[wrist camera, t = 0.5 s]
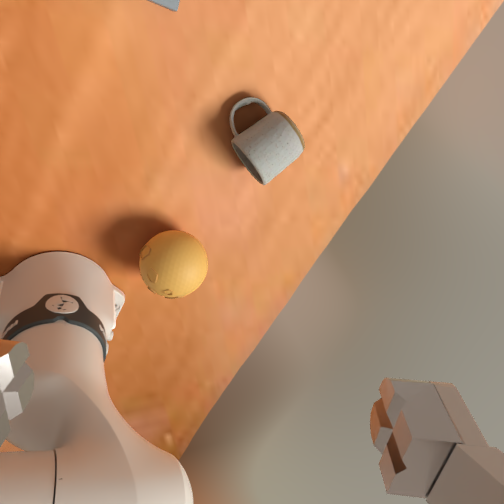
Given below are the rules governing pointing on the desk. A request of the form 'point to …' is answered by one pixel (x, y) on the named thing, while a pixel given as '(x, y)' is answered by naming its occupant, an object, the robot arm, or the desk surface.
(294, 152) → the ceramic mug
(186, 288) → the stress ball
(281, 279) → the desk surface
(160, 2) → the press bed
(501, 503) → the robot arm
